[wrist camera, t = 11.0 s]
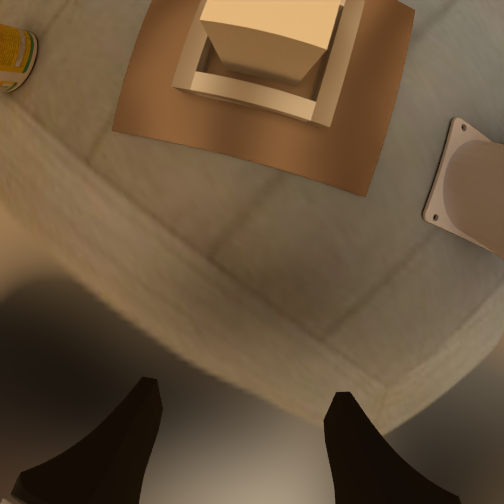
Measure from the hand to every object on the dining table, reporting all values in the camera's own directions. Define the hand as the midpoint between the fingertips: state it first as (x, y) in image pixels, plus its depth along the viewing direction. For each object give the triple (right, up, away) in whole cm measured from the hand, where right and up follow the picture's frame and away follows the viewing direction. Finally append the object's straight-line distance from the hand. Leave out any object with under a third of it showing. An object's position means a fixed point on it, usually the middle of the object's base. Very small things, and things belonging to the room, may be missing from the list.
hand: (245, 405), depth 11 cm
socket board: (+1, +18, +4) cm, 19 cm away
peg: (+1, +18, +3) cm, 18 cm away
